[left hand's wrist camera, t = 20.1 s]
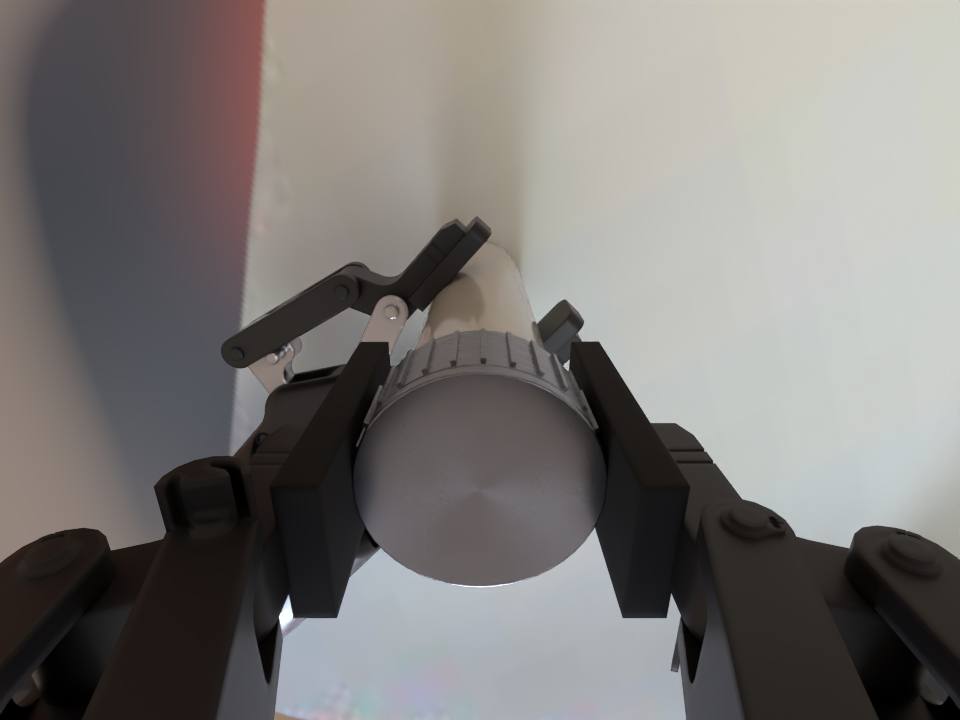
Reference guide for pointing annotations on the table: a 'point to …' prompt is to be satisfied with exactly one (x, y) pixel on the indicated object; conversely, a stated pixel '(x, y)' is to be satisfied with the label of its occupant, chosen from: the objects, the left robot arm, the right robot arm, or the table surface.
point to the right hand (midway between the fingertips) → (528, 269)
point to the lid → (479, 461)
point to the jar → (482, 300)
